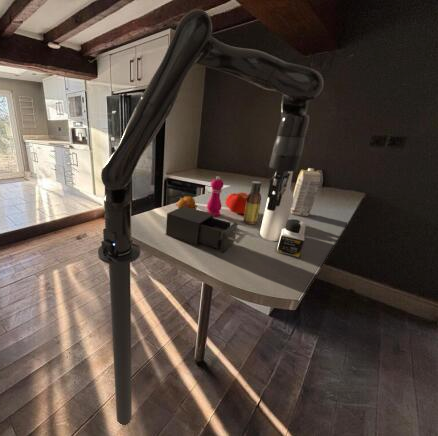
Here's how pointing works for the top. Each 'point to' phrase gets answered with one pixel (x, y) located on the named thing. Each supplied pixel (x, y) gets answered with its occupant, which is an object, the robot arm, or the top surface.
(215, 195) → the pepper mill
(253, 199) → the sauce bottle
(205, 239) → the drawer
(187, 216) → the cabinet
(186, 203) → the orange rounded lump
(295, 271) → the top surface
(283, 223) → the alcohol
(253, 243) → the top surface
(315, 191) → the juice carton
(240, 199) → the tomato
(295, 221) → the medicine bottle
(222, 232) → the block
